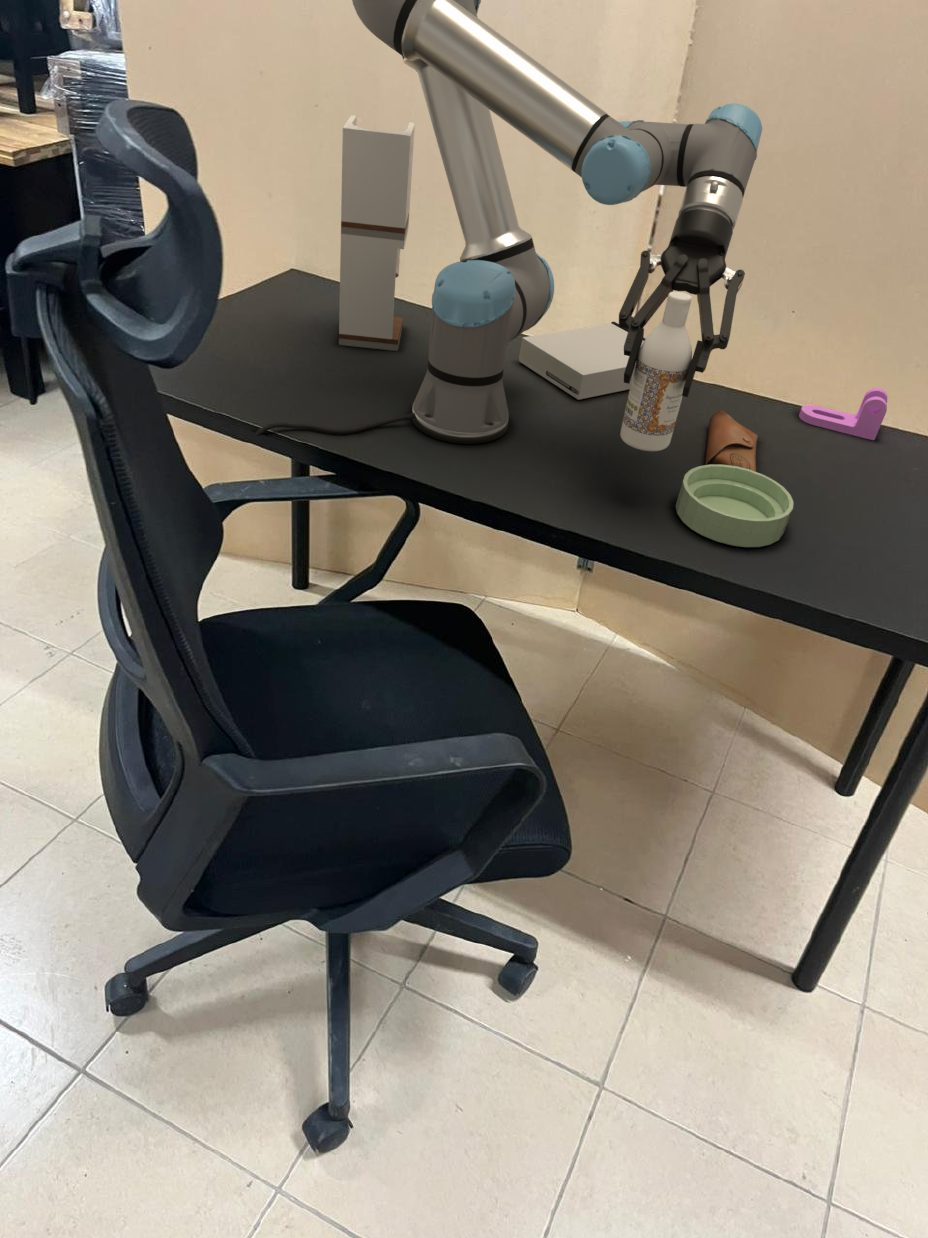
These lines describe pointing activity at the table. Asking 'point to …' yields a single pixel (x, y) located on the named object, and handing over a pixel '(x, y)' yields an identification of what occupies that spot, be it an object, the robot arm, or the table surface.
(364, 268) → the tall white banded column
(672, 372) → the bath foam
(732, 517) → the dish
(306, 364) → the table surface
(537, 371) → the disc drive
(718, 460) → the sunglasses case
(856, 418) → the bracket
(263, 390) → the table surface
